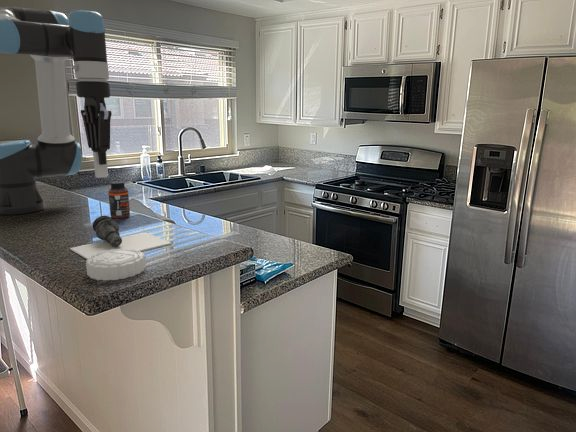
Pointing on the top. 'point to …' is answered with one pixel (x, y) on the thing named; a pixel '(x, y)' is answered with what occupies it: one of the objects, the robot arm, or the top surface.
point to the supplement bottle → (118, 200)
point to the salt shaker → (107, 230)
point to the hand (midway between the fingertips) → (101, 176)
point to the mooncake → (115, 264)
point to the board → (122, 245)
